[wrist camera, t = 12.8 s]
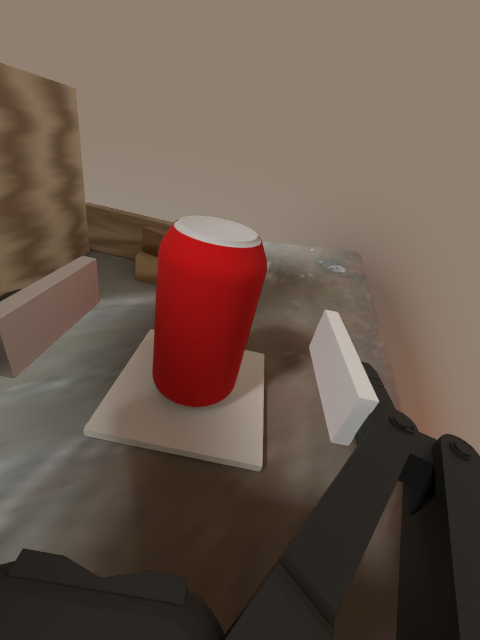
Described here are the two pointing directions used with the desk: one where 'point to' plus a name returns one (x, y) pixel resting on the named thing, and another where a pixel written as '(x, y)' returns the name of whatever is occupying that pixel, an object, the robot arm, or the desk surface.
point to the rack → (49, 186)
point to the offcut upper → (153, 237)
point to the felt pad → (184, 415)
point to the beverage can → (204, 307)
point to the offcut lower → (146, 268)
